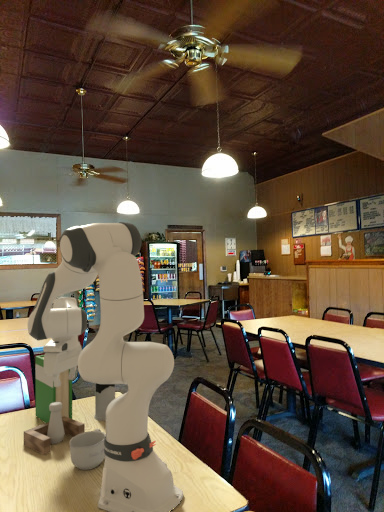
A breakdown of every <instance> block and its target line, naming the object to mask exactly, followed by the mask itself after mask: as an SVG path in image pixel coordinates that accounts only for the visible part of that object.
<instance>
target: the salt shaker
mask: <svg viewBox="0 0 384 512" xmlns="http://www.w3.org/2000/svg"><path fill="white" fill-rule="evenodd" d="M61 409H62V403H61V402H53V403H51V404H50V406H49V410H50V411H51V415H50V421H49V427H48V432H47V437H50V438H51V445H55V444H56V445H57V444H60V443H61V442H63V440H64V437H65V435H66V434H65V431H64V427H63V422H62V416H61V411H60V410H61Z"/></svg>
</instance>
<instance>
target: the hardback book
mask: <svg viewBox="0 0 384 512" xmlns="http://www.w3.org/2000/svg"><path fill="white" fill-rule="evenodd" d="M44 355H45V354H41V355H40V354H39V355H35V417H36V416H37V417H36V418H38V419H39V418H40V419H39V420H40V421H42V422H43V421H44V424H45V423H48V422H49V421H50V415H51V411H50V410H49V406H50V404H51V403H53V402H61V403H62V409H61V410H60V411H61V416H62V417H63V416H65V417H68V418H70V419H73V380H69V379H68V375H69V373H70V369H68V370H66V371H64V372H62V373H60V376H59V380H60V381H61V386H59V387H54V381H53V379H52V376H46V375H45V373H44Z"/></svg>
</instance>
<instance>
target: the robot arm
mask: <svg viewBox="0 0 384 512" xmlns="http://www.w3.org/2000/svg"><path fill="white" fill-rule="evenodd" d="M140 233H141V232H140V231H139V229H138V228H137V226H136V225H135V224H133V223H130V222H125V221H120V222H104V223H103V222H96V223H95V222H94V223H90V224H85V225H80V226H79V225H75V226H71V227H69V228H67V229H65V230H63V232H62V234H61V236H60V238H59V250H60V255H61V257H62V258H61V260H62V261H61V263H59V264H58V266H57V268H55V269H54V270H53V271H51V272H49V273H48V274H47V276H46V278H45V279H44V281H43V284H42V287H41V288H40V289H41V290H40V291H39V294H38V297H37V299H36V302H35V304H34V306H33V309H32V310H31V312H30V315H29V317H28V319H27V331H28V334H29V336H30V337H31V338H33V339H34V340H36V341H42V340H47V339H49V341H48V342H47V343H45V344H44V346H43V347H42V349H43V350H42V351H43V352H44V354H43V355H44V373H45V375H46V376H52V379H53V381H54V387H59V386H61V381H60V380H59V376H60V373H62V372H64V371H66V370H68V369H70V373H69V375H68V379H69V380H72V381H73V380H75V376H76V371H78V373H79V376H80V378H81V379H82V380H83V381H84V382H89V383H92V384H93V383H95V384H96V383H97V384H115V385H126V386H127V391H126V392H125V393H123V394H121V395H119V396H118V397H117V396H116V397H115V399H114V400H113V401H111V402H110V404H109V405H108V407H107V409H106V420H105V434H106V436H105V438H104V453H105V455H106V456H105V458H104V464H103V469H102V479H101V487H100V490H99V499H98V502H97V503H98V504H97V507H98V509H101V510H104V511H107V512H169V511H170V510H172V509H173V508H175V507H176V506H177V505H178V504H179V505H180V504H181V502H182V501H181V500H183V497H184V491H183V490H182V489H181V488H179V487H178V486H176V485H175V483H174V477H173V474H172V471H171V469H169V467H168V465H167V463H166V462H165V461H163V460H162V459H161V457H159V455H158V454H157V453H156V452H155V450H154V446H156V445H157V444H156V440H153V441H152V439H151V436H150V434H149V432H148V431H149V429H148V424H149V408H150V404H151V400H152V397H153V396H154V394H155V393H156V391H157V390H158V389H159V387H160V386H161V385H162V384H164V383H165V382H166V381H167V380H168V379H169V378H170V377H171V376H172V373H173V370H174V367H175V359H174V358H175V357H174V355H173V352H172V350H171V349H170V347H169V346H168V345H167V344H163V343H159V342H153V341H126V340H124V337H125V336H126V335H129V334H130V333H132V332H134V331H136V330H137V329H138V328H139V327H141V325H143V322H144V320H145V307H144V304H145V303H144V290H143V280H142V274H141V270H140V265H139V262H138V259H137V257H136V256H137V255H138V254H139V253H140V251H141V248H142V236H141V234H140ZM97 278H98V281H99V282H98V283H99V285H98V286H99V287H98V288H99V303H100V305H99V306H100V324H99V328H98V331H97V333H96V335H95V337H94V338H93V339H92V340H91V341H90V342H89V343H88V344H87V345H86V346H85V347H83V349H82V345H81V342H80V340H79V336H80V335H82V334H83V333H84V332H85V331H87V329H88V313H87V312H86V311H85V310H84V309H83V308H81V307H79V306H78V301H77V298H75V297H74V296H63V295H65V294H69V293H72V292H76V291H81V290H83V289H86V288H88V287H89V286H91V285H92V284H93V283H94V282H95V281H96V279H97ZM61 296H62V297H61ZM180 501H181V502H180ZM179 505H178V506H179ZM178 506H177V507H178ZM177 507H176V508H177ZM176 508H175V509H176Z"/></svg>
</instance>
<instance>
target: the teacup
mask: <svg viewBox="0 0 384 512" xmlns="http://www.w3.org/2000/svg"><path fill="white" fill-rule="evenodd" d="M105 436H106V432H103V431H102V430H101V429H100V428H95V429H94V430H89V431H85V432H84V433H81V434H78V435H76V436H74V437H71V439H70V440H69V443H68V444H69V452H70V453H69V454H70V460H71V463H72V464H73V466H74V467H76V468H77V469H80V470H84V471H85V470H86V471H87V470H91V469H95V468H97V467H98V466H99V465H101V463H102V462H103V461H105V456H106V455H105V453H104V438H105Z"/></svg>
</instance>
